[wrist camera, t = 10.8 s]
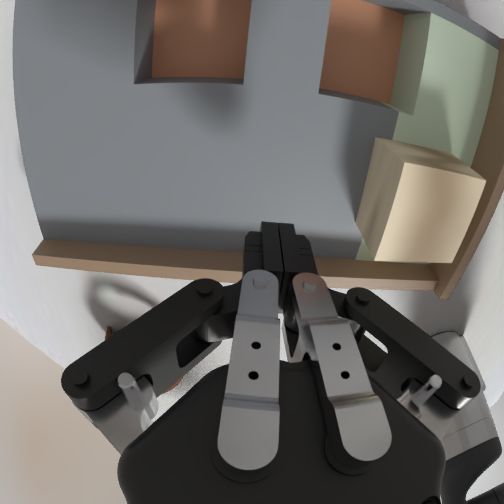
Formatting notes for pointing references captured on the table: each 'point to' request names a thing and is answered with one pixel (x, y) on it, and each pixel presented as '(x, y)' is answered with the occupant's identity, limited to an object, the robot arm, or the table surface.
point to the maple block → (416, 203)
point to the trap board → (244, 128)
